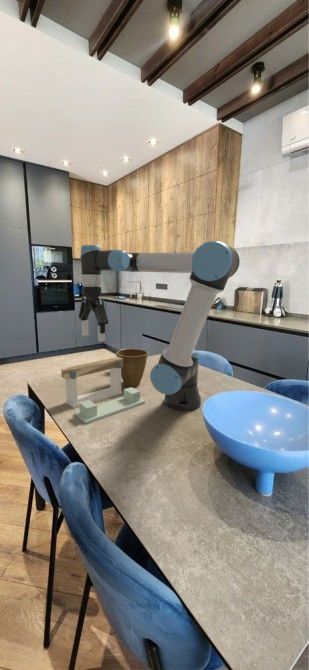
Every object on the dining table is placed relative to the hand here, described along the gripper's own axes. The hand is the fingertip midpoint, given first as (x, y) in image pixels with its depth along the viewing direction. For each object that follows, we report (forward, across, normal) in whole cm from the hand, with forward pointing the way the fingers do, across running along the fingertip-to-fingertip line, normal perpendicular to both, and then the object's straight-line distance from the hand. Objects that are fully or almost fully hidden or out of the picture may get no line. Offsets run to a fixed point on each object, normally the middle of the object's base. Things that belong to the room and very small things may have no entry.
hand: (93, 338), depth 116 cm
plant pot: (+26, +3, -22) cm, 35 cm away
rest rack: (+26, -13, 0) cm, 29 cm away
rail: (+14, 0, 0) cm, 14 cm away
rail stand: (+26, 0, 0) cm, 26 cm away
